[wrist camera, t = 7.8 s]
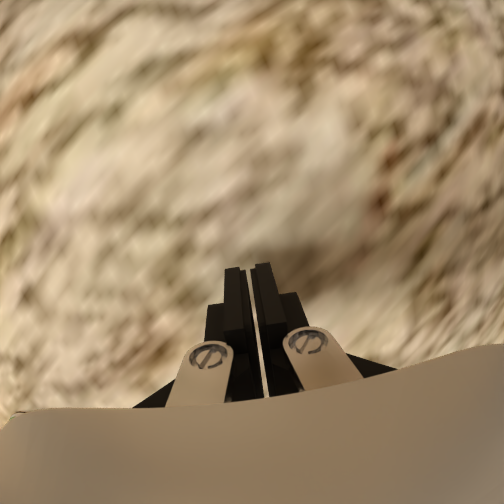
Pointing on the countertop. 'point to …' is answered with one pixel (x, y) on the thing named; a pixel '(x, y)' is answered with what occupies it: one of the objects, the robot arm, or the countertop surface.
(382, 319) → the countertop surface
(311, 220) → the countertop surface
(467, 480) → the robot arm
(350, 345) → the countertop surface
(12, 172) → the countertop surface
